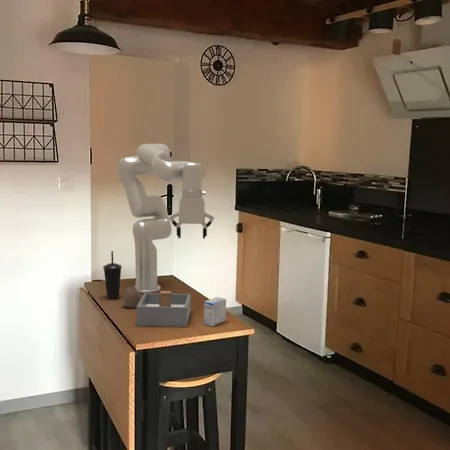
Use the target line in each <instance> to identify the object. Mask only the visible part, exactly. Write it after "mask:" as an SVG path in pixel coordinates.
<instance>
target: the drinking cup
mask: <svg viewBox="0 0 450 450" xmlns="http://www.w3.org/2000/svg"><path fill="white" fill-rule="evenodd" d="M110 253H111V254H110V255H111V262H110V263H106V264H104V265H103V266H102V268H103V273H104V281H105V290H106V291H105V292H106V299H108V300H118V299H119V298H120V289H121V287H120V286H121V276H122V275H121V273H122V272H121V271H122V268H123V267H122V265H121V264H119V263H115V262H114V251H111V252H110Z"/></svg>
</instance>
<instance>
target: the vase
mask: <svg viewBox="0 0 450 450" xmlns="http://www.w3.org/2000/svg"><path fill="white" fill-rule="evenodd" d="M134 285H135V284H129V285H128V286H127V288H126V289H125V290H124V291H123V294H122V303H123V305H124V306H125V308H127V309H134V308H137V305H138V304H139V302H140V300H141V295H140V294H141V293H139V292H138V290H137V289H136V288H135V286H134Z"/></svg>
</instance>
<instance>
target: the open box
mask: <svg viewBox="0 0 450 450" xmlns="http://www.w3.org/2000/svg"><path fill="white" fill-rule="evenodd" d="M191 295H192V294H191V293H171V307H159V293H155V292H151V293H143V295H142V296H141V297H140V302H139V304H138V305H137V307H136V326H137V327H138V326H139V327H150V326H151V327H180V328H181V327H184V328H186V327H187V326H188V324H189V323H188V322H189V320H190V315H191V304H192V303H191V302H192V301H191Z"/></svg>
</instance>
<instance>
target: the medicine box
mask: <svg viewBox="0 0 450 450" xmlns="http://www.w3.org/2000/svg"><path fill="white" fill-rule="evenodd" d="M226 317H227V299H226V298H223V297H218V296H215V297H213V298H211V299H207V300H205V301H204V302H203V324H204V325H206V326H209V327H215V326H217V325H219V324H222V323H223V322H226V321H227V320H226Z"/></svg>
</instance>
